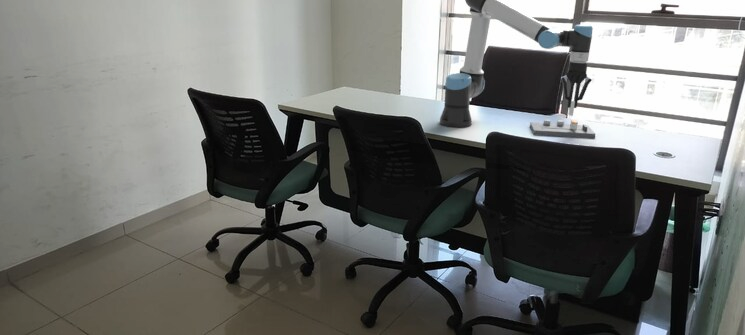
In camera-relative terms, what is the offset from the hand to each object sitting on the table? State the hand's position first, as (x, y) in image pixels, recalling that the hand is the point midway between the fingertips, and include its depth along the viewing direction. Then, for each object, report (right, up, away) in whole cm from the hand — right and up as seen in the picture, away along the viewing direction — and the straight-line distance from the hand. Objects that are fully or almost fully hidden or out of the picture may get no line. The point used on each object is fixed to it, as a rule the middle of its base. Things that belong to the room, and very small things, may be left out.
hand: (570, 114), depth 238 cm
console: (-3, -7, +5) cm, 9 cm away
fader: (+2, -6, +2) cm, 7 cm away
